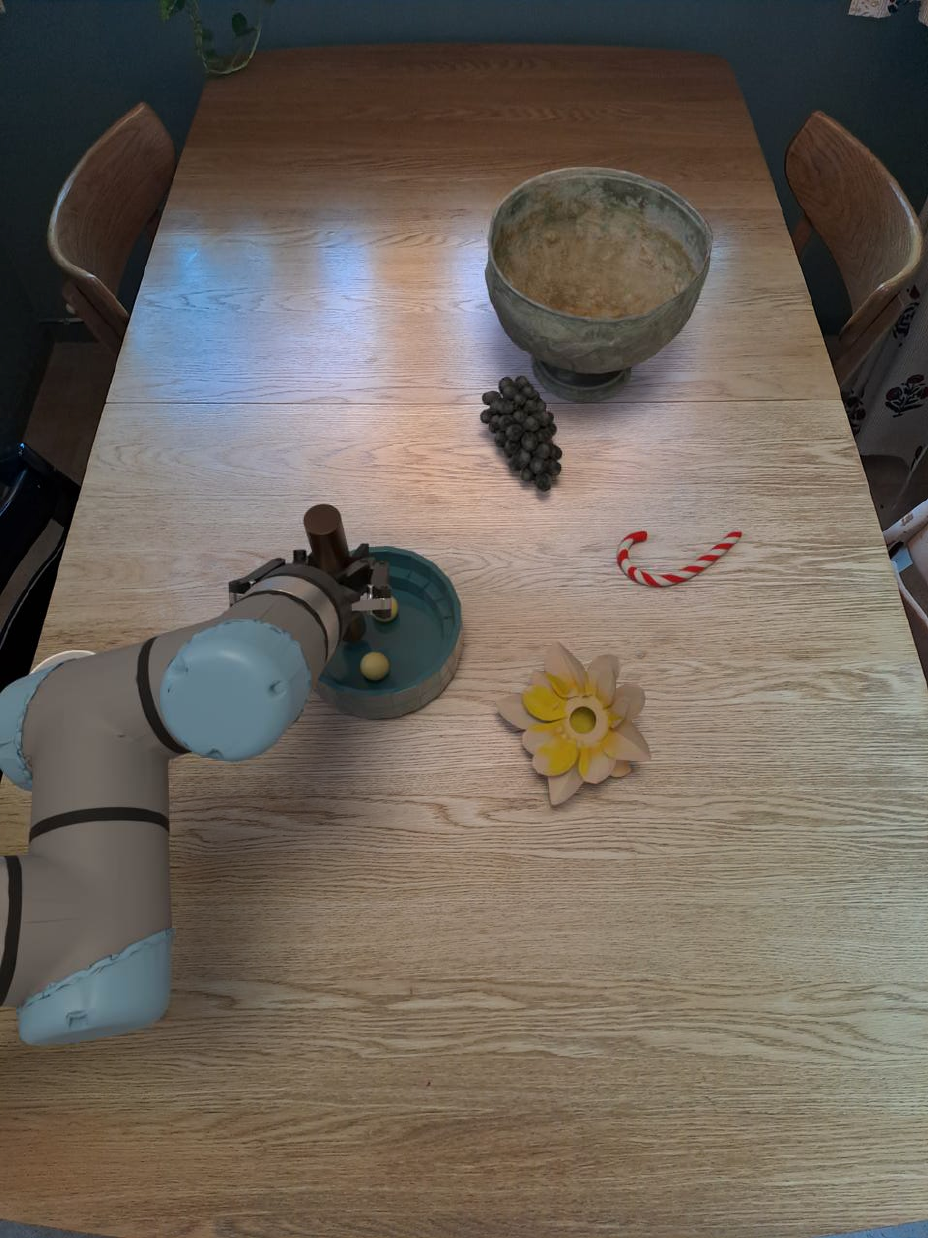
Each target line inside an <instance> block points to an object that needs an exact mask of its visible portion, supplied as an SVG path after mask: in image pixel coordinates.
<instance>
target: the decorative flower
mask: <svg viewBox="0 0 928 1238" xmlns="http://www.w3.org/2000/svg"><path fill="white" fill-rule="evenodd" d="M544 664H545V671H543V670H540V669H534V668H533V669H532V670H531V673H530V678H529V680H530V685H528V686H527V687H526V688H525V689H524V691H523V692H522V693H518V694H514V695H511V696H507V697H503V698H499V699H497V700H495V707H496V709H497V711H498V714H499V715H501V717H503V718H504V720H506V721H507V722H508V723H510V724H512V725H513V726H515V727H517V728H518V729H523V730H525V731H524V732H523V733H522V735H521V739H522V740H521V741H522V746H523V747H524V748H525V749H526V751H527V752H528V753H530V754H531V755H533V757H532V761H531V766H532V767H533V768H534V770H535V771H536V772H537V774H541V775H544V776H545V777H546V776H547V781H548V790H549V799H550V803H551V806H557V805H559V804H562V803H564V802H566V801H568V800H569V799H570V798H571V797H572V796H573V795H574V794H575V793H576V792H577V791H578V789H579V788H580V787H581V786H582V784H584V782H585V783H591V784H599V783H601V782H602V781H604V780H606V779H607V778H609V776H611V777H614V778H621V777H624V776H626V775H628V774H629V773H630V772H631V771H632V767H631V765H630V764H629V763H628V761H632V762H633V761H634V762H635V761H636V762H637V761H638V762H639V761H640V762H645V761H648V762H649V761H651V760H652V753H651V750H650V747H649V743H648V742H647V740H646V738H645V737H644V735H643V734H642V732H641V731H640V730H639V729H638V728H637V726H636V725H635V724H634V723H633V722H632V720H634V719H636V718H638V717H639V715H641V713H642V711H643V709H644V707H645V705H646V694H645V689H644V688H643V687H642V686H641V685H639V684H638V683H637V682H628V683H624V684H622V685H620V686H618V687H617V681H618V679H619V677H620V675H621V671H622V667H623V664H622V662H621V660H620V659H619V656H617V655H614V654H612V653H603V654H601V655H599V656H597V657H595V658H594V659H592V660H591V661H590V663H589V664H588V666H587V668H585V667H584V665H583V663H582V661H580V660H579V659H578V658H577V657H576V656H575V655H574V654H573V653H572V652H571V651H570V650H569V649H567V648H566V647H565V646H564V645H563V644H562V643H560V642H559V641H558V640H556V641H555V642H553V643H552V644H551V646H550V647H549V648H548V650H547V651H546V655H545V661H544Z"/></svg>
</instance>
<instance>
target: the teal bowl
mask: <svg viewBox="0 0 928 1238" xmlns="http://www.w3.org/2000/svg"><path fill="white" fill-rule="evenodd" d="M356 549H357V548H355V549H353V550H349V553H350V557H351V556H352V555H353V553H354V552H355V551H356ZM369 557H373V558H375V563H377V562H380V561H385V562H388V563H389V586H391V587H392V597H393V598H394V599H395V600H396V601H397V603H398V613H397V615H396V616H395V618H393V619H392V620H390V621H388V622H381V621H378V620H377V619H375V618H374V616H373V615H369V614H367V611H363V614H364V619H365V623H366V633H365V635H364V636H363V637H362V638H361V639H360V640H358V641H356V642H345V641H342V640H341V641H340V643H339V645H338V646H337V648H336V650H335V651H334V653H333V654H332V656H331V658H330V659H329V661H328V663H327V665H326V666H325V668H324V669H323V671H322V672H321V674H320V677H319V678H318V680H317V682H316V684H315V686H314V688H313V689H312V690H314V692H315V693H316V694H317V695H318V696H319V697H320V699H321V700H322V701H324V702H325V703H327V704H329V705H330V706H332V707H334V708H335V709H336V710H338V711H340V712H341V713H344V714H347V715H348V714H349V715H352V716H355V717H360V718H364V719H387V718H398V717H401V716H402V715H405V714H408V713H410V712H413V711H416V710H419V709H421V708H422V707H424V706H425V705H427V704H428V703H429V702H431V701H432V700H433V699H435V698H436V697H437V696H439V695H440V694H441V693H442V692H443V691H444V689H445V688H446V687H447V685H448V683H449V682H450V681H451V680H452V678H453V677H454V676H455V674H456V672H457V668H458V666H459V662H460V658H461V655H462V651H463V622H462V620H463V619H462V605H461V604H462V603H461V600H460V598H459V596H458V593H457V592H456V588H455V586H454V584H453V582H452V580H451V579H450V578H449V577H448V576H447V574H446V573H444V571H442V569H441V568H440V567H439V566H438V565H437V564H436V563H435V562H433V561H431V560H429V559H428V558H426V557H424V556H422V555H420V554H419V553H416V552H415V551H413V550H410V549H409V550H408V549H404V548H398V547H395V546H390V545H381V546H379V545H377V546H369ZM370 585H371V584H370ZM361 596H363V595H360V597H361ZM370 652H379V653H382V654H383V655H384V656H385V657H386V658H387V659H388V662H389V670H388V673H387V674H386V676H385V677H384V678H382V679H380V680H375V681H374V680H369V679H367V678H366V677H365V676H364V675H363V674H362V672H361V669H360V664H361V660H362V659H363V657H364V656H365V655H366V654H368V653H370Z"/></svg>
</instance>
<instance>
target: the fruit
mask: <svg viewBox="0 0 928 1238" xmlns="http://www.w3.org/2000/svg"><path fill="white" fill-rule="evenodd" d="M497 386H498V387H497V388H498V391H497V390H488V391H486V392H483V394H482V396H481V401H482V403H483V405H485V406H489V407H488V408H486V409H484V410H482V412H481V413H480V414H479V418H480V422H481V423H482V424H484V425H487V427H488V430H489V432H490V433H491V434H493V435H494V439H493V441H494V445H495V446H496V447H497V448H499V449H500V448H501V449H502V455H503V456H504V457H505V458H506V459H508V460H509V462H508V464H507V466H508V468H509V469H510V470H511V471H512V472H515V473H517V472H520V478H521V480H523V481H524V482H526V483H530V482H534V483H535V485H536V487H537V490H538V491H539V492H541V493H546V492H549V491H550V490H551V489H552V486H553V481H552V478H551V477H555V478H556V477H558V476H559V475H560V474H561V472H562V469H563V467H562V463H560V462H559V461H560V460H561V459H562V458H563V453H564V452H563V450H562V448H560V446H558V445H556V444H555V443H554V440H553V437H554V436H555V435H556V434H557V432H558V427H557V425H556V424H555V423H554V421H555V415H554V413H553V412H552V411H549V410H547V409H548V404H547V402H546V401H545V400H544V399H543V398H542V397H541V394H540V392H539V391H538V390H537V389H535V386H534V385H533V383H532V382H530V380H529V379H528V377H527V376H525V375H518V376H516V378H515V379H512V378H511V377H510V376H503V377H501V378H500V379H499V381H498V385H497Z"/></svg>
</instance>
